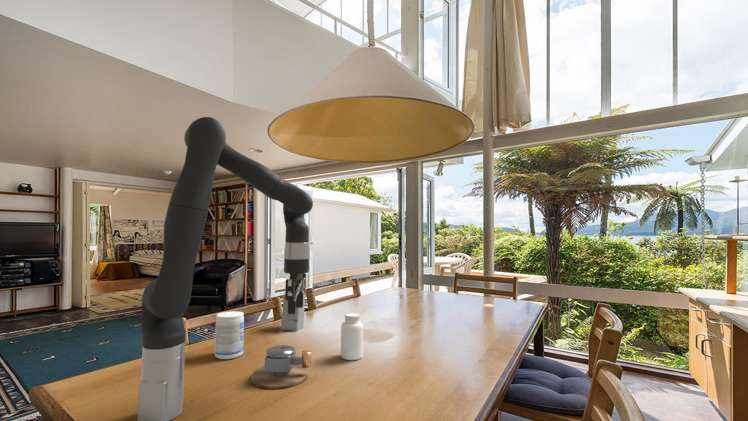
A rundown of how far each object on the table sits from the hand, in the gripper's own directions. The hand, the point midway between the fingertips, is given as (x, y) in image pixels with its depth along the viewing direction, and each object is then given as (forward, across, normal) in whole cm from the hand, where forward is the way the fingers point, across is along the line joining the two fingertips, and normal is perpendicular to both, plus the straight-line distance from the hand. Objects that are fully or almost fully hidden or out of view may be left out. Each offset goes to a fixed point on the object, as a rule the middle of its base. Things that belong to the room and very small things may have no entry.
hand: (295, 310), depth 110 cm
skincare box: (+22, +54, +16) cm, 61 cm away
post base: (+21, +2, +5) cm, 22 cm away
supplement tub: (+21, +19, +29) cm, 41 cm away
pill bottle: (+22, +22, -15) cm, 34 cm away
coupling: (+18, +3, +3) cm, 18 cm away
